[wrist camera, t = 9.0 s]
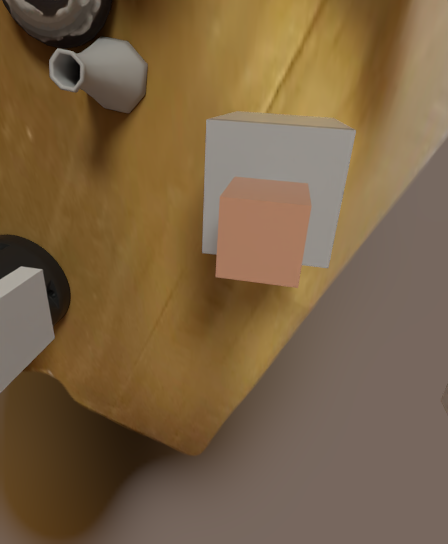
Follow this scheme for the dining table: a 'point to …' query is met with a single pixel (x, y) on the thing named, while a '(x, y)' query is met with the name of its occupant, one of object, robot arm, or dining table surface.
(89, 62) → the flask
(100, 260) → the dining table surface
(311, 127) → the slotted white box
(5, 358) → the robot arm
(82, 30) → the donut
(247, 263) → the pump plunger
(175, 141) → the dining table surface
